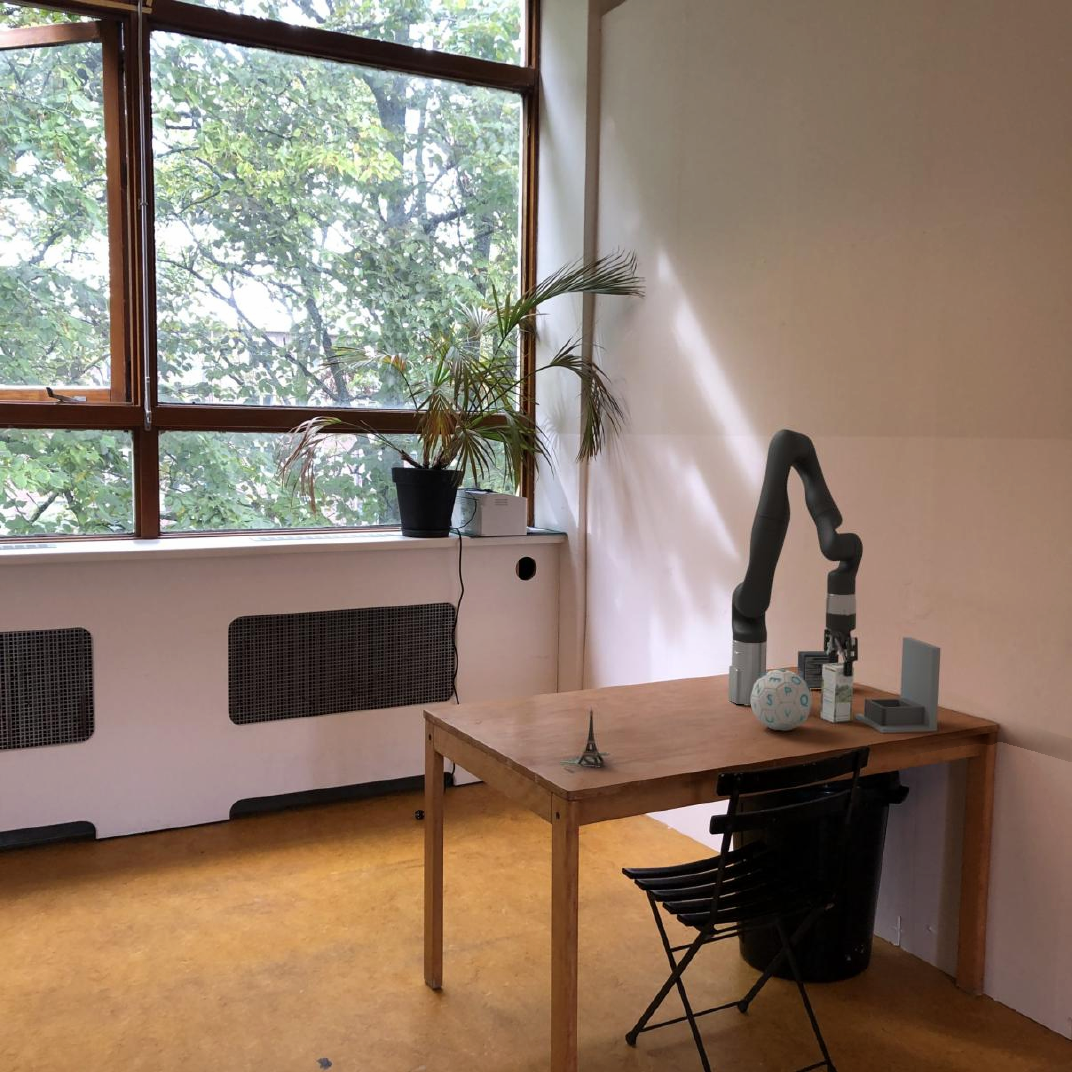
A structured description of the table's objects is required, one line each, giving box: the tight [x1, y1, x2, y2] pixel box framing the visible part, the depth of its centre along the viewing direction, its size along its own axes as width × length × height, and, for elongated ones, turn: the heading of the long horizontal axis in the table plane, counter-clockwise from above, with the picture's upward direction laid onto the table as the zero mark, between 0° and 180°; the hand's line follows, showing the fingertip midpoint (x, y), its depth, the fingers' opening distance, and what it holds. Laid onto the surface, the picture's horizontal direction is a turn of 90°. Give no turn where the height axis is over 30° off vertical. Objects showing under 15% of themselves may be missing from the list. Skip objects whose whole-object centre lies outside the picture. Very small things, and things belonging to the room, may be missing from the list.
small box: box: [797, 650, 840, 688], centre depth 319 cm, size 11×6×10 cm, turn 94°
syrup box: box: [819, 662, 855, 724], centre depth 282 cm, size 6×6×14 cm
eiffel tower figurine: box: [559, 706, 610, 773], centre depth 242 cm, size 15×10×13 cm
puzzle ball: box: [750, 669, 813, 732], centre depth 272 cm, size 15×15×15 cm
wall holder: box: [854, 636, 941, 734], centre depth 278 cm, size 14×15×21 cm
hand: (840, 672), depth 282 cm, fingers open, 8 cm apart
